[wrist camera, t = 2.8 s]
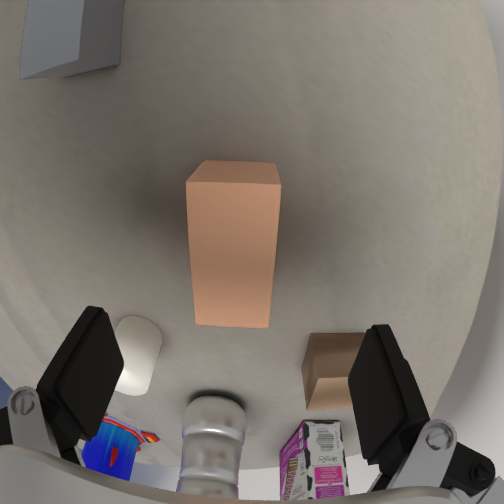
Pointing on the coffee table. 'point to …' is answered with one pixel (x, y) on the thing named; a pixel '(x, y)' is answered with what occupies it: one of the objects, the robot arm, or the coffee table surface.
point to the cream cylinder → (137, 353)
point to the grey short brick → (70, 37)
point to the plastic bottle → (212, 447)
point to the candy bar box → (314, 463)
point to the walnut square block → (329, 369)
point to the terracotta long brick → (233, 241)
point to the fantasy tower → (115, 448)
